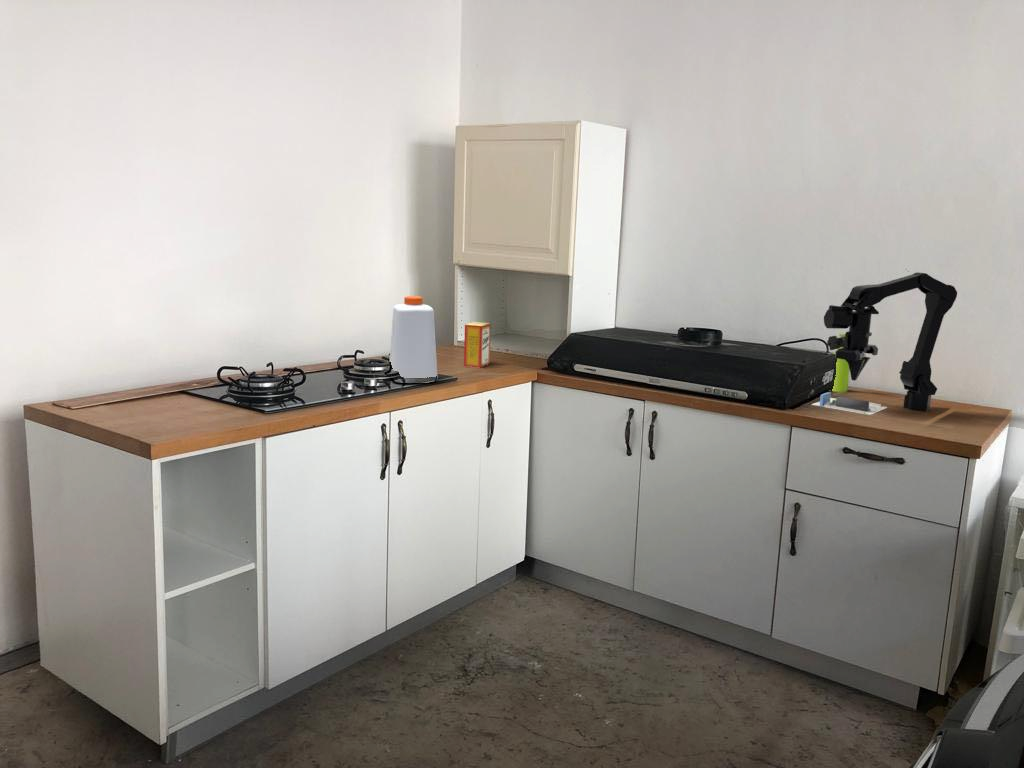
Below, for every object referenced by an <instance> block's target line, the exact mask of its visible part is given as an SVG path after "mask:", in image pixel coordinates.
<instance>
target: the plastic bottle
mask: <svg viewBox="0 0 1024 768" xmlns="http://www.w3.org/2000/svg"><path fill="white" fill-rule="evenodd" d="M391 323H392V324H391V336H390V348H389V349H390V350H389V362H391V365H392V368H393V370H394V371H398V372H399V374H400V376H401V377H404V378H427V377H428V378H429V377H436V376H437V377H438V366H437V365H438V362H437V347H436V344H437V343H436V329H435V326H436V325H435V310H434V309H433V308H432V306H430V305H428V304H424V301H423V297H422V296H417V295H415V296H414V295H412V296H411V295H409V296H407V295H406V296H405V297H404V302H403V303H402V304H401V303H400V304H399V303H398V304H395V305H394V306H393V308H392V321H391Z"/></svg>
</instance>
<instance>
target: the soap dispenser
mask: <svg viewBox="0 0 1024 768" xmlns="http://www.w3.org/2000/svg"><path fill="white" fill-rule="evenodd" d="M838 337H839V338H841V337H845V333H839V334H838ZM841 348H843V347H840V348H838V349H841ZM838 349H836V351H837V350H838ZM833 354H835V353H833ZM835 376H836V377H835V380H834V386H833V389H832V391H831V392H836V393H837V392H838V393H847V392H848V388H849V387H848V386H849V380H850V379H849V377H850V369H849V365H848V362H847V361H846V360H845V359H837V362H836V375H835Z"/></svg>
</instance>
